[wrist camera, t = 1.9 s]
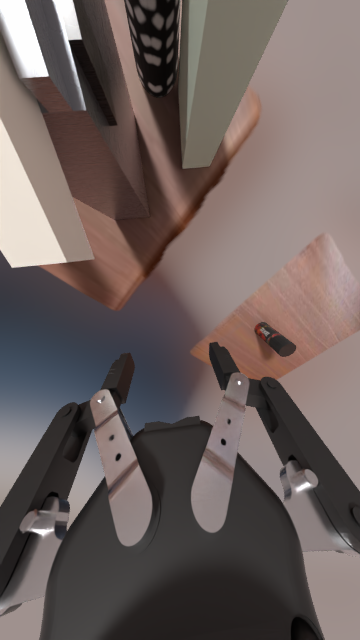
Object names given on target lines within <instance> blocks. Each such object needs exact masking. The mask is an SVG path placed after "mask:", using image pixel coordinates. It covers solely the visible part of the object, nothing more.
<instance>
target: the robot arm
mask: <svg viewBox="0 0 360 640" xmlns="http://www.w3.org/2000/svg"><path fill="white" fill-rule="evenodd" d="M209 357H210V361H211V364H212V366H213V369H214V372H215V374H216V377H217V380H218V383H219V385H220V388H221V390H225V391H226V392H225V395H224V397H223V399H222V402H221V405H220V407H219V410H218V414H217V416H216V419H215V422H214V425H213V426H212V425H211V424H209V423H208V422H205V421H202V420H200V418H199V416H195V417H187V418H185V419H182V420H180V421H178V422H176V423H173V424H170V423H164V422H151V423H145V428H143V429H142V430H140V431H139V432H137V433H136V434H135V435H134V436H133V434H132V432H131V430H130V428H129V426H128V424H127V422H126V420H125V417H124V415H123V413H122V411H121V409H120V405H121V404H124V403H126V399H127V396H128V392H129V388H130V384H131V380H132V376H133V373H134V368H135V365H134V361H133V359H132V356H131V354H130V353H124V354H121V356H120V358H119V360H116V361H115V362H114V363H113V364H112V366H111V368H110V371H109V373H108V375H107V377H106V379H105V381H104V383H103V385H102V388H101V390H100V391H99V392H97V393H96V394H95V395H94V396H93V397H92V399H91V400H89V401H87V402H84V403H82V404H79V405H78V404H77V403H75V402H72V403H69V404H67V405H65V406H64V407H62V408H61V409H60V410H59V411H58V412H57V414H56V415H55V417H54V419H53V420H52V422H51V424H50V425H49V427H48V429H47V430H46V432H45V434H44V435H43V437H42V439H41V440H40V442H39V444H38V445H37V447H36V449H35V450H34V452H33V454H32V455H31V457H30V459H29V460H28V462H27V464H26V465H25V467H24V468H23V470H22V472H21V474H20V475H19V477H18V478H17V480H16V482H15V483H14V485H13V487H12V489H11V490H10V492H9V494H8V495H7V497H6V498H5V500H4V502H3V503H2V505H1V507H0V616H3V615H5V614H8V613H10V612H12V611H14V610H16V609H17V608H18V607H19V606H20V605H21V604H22V603H24V602H26V601H30V600H33V599H37V598H40V597H44V596H45V601H44V611H43V620H42V626H41V633H40V639H39V640H325V639H324V637H323V633H322V631H321V628H320V625H319V622H318V619H317V615H316V612H315V609H314V605H313V602H312V598H311V595H310V590H309V587H308V582H307V577H306V573H305V566H304V559H303V554H302V552H308V551H332V550H334V551H336V552H339V553H345V554H347V555H350V556H355V557H360V491H359V490H358V489H357V487H356V486H355V485H354V483H353V482H352V480H351V479H350V478H349V476H348V475H347V474H346V472H345V471H344V469H343V468H342V467H341V465H340V464H339V463H338V461H337V460H336V459H335V457H334V456H333V455H332V453H331V452H330V451H329V449H328V448H327V446H326V445H325V444H324V443H323V441H322V440H321V438H320V437H319V436H318V434H317V433H316V431H315V430H314V429H313V427H312V426H311V425H310V423H309V422H308V421H307V419H306V418H305V417H304V415H303V414H302V412H301V411H300V410H299V408H298V407H297V406H296V404H295V403H294V402H293V400H292V399H291V398H290V396H289V395H288V393H287V392H286V391H285V390H284V388H283V387H282V385H281V384H280V383H279V382H278V381H277V380H275V379H273V378H271V377H263V378H262V379H261V381H260V380H255V379H249V378H247V377H246V376H245V375H244V374H242V373H240V371H239V369H238V368H237V366H236V364H235V362H234V361H233V359H232V357H231V355H230V353H229V352H228V350H227V349H226V348H225V347H220V346H219V344H218V342H213V343H210V344H209ZM245 405H247V406H251V407H256V409H257V411H258V414H259V416H260V418H261V420H262V422H263V424H264V426H265V428H266V430H267V432H268V435H269V437H270V439H271V441H272V443H273V445H274V447H275V449H276V451H277V453H278V455H279V458H280V459H281V461H282V464H283V467H282V468H281V470H280V480H281V483H282V486H283V489H284V501H283V503H282V502H281V500H280V499H279V497H278V496H277V495H276V494H275V492H274V491H273V490H272V489H271V488H270V487H269V486H268V485H267V484H266V482H265V481H264V480H263V479H262V478H261V477H260V476H259V475H258V474H257V473H256V472H255V470H254V469H253V468H252V467H251V466H250V465H249V464H248V463H247V462H246V461H245V460H244V459H243V457H242V456H241V455H240V454H239V453H238V446H239V441H240V436H241V430H242V425H243V419H244V414H245ZM94 428H95V429H94ZM92 429H94V432H95V437H96V441H97V445H98V449H99V453H100V457H101V461H102V465H103V469H104V473H105V477H104V478H103V480H102V481H101V483H100V484H99V486H98V487H97V488H96V490H95V491H94V493H93V494H92V496H91V497H90V498H89V500H88V501H87V503H86V504H85V506H84V507H83V509H82V510H81V511H80V513H79V514H78V516H77V517H76V519H75V520H74V522H73V523H72V524H71V526H70V528H69V529H68V531H67V523H68V519H69V512H70V504H69V502H68V501H67V499H68V496H69V493H70V490H71V488H72V485H73V482H74V479H75V476H76V474H77V471H78V468H79V465H80V462H81V460H82V457H83V454H84V451H85V448H86V445H87V443H88V440H89V437H90V434H91V431H92Z"/></svg>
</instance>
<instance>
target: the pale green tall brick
mask: <svg viewBox="0 0 360 640" xmlns="http://www.w3.org/2000/svg"><path fill="white" fill-rule="evenodd" d="M287 2H288V0H182V19H181V39H180V59H179V79H178V94H179V113H180V133H181V152H182V169H187V168H199V167H210V165H211V163H212V160H213V158H214V156H215V154H216V152H217V150H218V148H219V146H220V144H221V141H222V139H223V137H224V135H225V133H226V131H227V129H228V127H229V125H230V122H231V120H232V118H233V116H234V114H235V112H236V110H237V108H238V106H239V103H240V101H241V99H242V97H243V95H244V93H245V91H246V89H247V87H248V84H249V82H250V80H251V78H252V76H253V74H254V72H255V70H256V68H257V65H258V63H259V61H260V59H261V57H262V55H263V53H264V50H265V48H266V46H267V44H268V42H269V40H270V38H271V36H272V34H273V32H274V29H275V27H276V25H277V23H278V21H279V19H280V17H281V15H282V13H283V10H284V8H285V6H286V4H287Z"/></svg>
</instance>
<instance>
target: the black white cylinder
mask: <svg viewBox="0 0 360 640" xmlns="http://www.w3.org/2000/svg"><path fill="white" fill-rule="evenodd" d="M124 2H125V8H126V13H127V18H128V24H129V29H130V35H131V40H132V46H133V51H134V57H135V62H136V68H137V72H138V75H139V78H140V80H141V83H142V84H143V86H144V88H145V89H146V90H147V91H148V92H149V93H150V94H151V95H153V96H155V97H164V96H165V95H167V94H168V93H169V92H170V91H171V89H172V87H173V85H174V83H175V80H176V76H177V68H178V45H179V21H180V0H124Z"/></svg>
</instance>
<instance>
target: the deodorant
mask: <svg viewBox="0 0 360 640" xmlns="http://www.w3.org/2000/svg"><path fill="white" fill-rule="evenodd" d="M254 330H255V332H256V333H257V334H258V335H259V336H260V337H261V338H262V339H263V340H264V341H265V342H266V343H267V344H268V345H269V346H270V347H272V348H273V349H274V350H275V351H276V352H277V353H278V354H279V355H280V356H282V357H286V356H289V355H291V354H292V353H294V352H295V350H296V345H294V344H293V343H292V342H291V341H289V340H288V339H287V338H285V337H284V336H283V335H281V334H280V333H279V332H277V331H276V330H275V329H273V328H272V327H271V326H269V325H268V324H267V323H265V322H261V323H259V324H257V325H256V327H255V329H254Z"/></svg>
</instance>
